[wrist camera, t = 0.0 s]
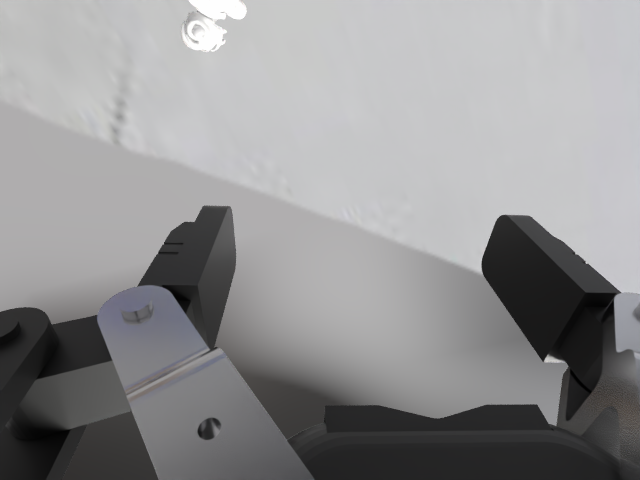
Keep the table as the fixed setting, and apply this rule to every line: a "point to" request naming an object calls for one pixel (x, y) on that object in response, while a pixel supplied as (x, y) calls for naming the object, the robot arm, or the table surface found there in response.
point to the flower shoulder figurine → (209, 22)
